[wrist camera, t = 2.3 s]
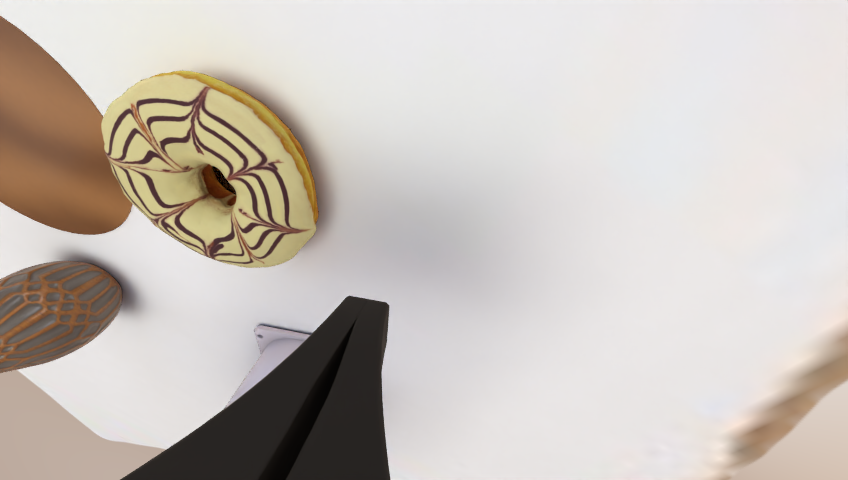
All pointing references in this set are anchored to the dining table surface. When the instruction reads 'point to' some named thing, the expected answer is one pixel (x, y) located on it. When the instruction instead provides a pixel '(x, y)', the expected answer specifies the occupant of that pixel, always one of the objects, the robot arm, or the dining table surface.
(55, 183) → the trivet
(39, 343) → the vase
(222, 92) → the decorated donut
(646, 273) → the dining table surface
